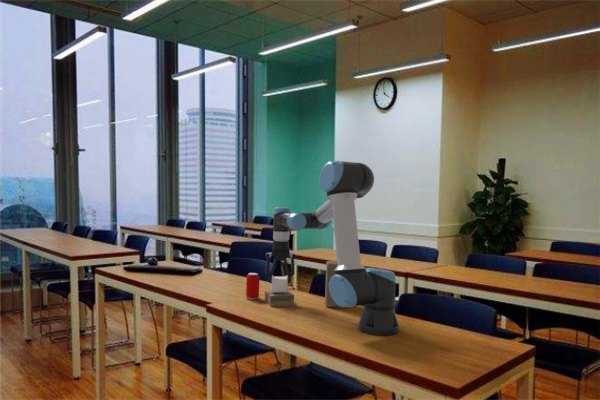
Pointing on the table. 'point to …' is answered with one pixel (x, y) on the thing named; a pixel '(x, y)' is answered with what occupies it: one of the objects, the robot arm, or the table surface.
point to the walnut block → (279, 298)
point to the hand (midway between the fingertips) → (279, 289)
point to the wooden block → (329, 273)
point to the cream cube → (279, 284)
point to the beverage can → (252, 286)
